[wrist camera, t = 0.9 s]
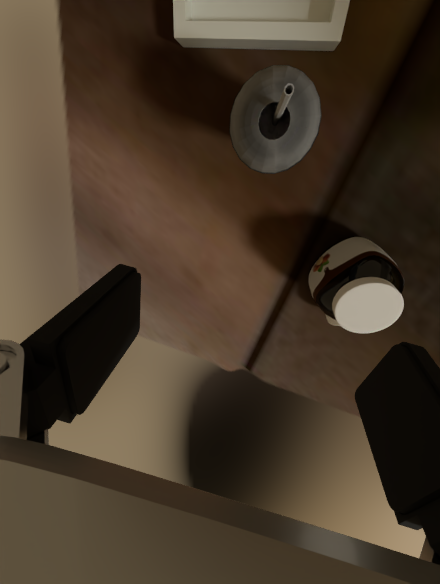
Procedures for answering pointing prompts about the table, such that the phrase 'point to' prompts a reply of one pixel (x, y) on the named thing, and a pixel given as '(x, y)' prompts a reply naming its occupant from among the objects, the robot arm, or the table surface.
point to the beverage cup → (275, 119)
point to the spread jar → (357, 286)
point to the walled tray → (260, 24)
